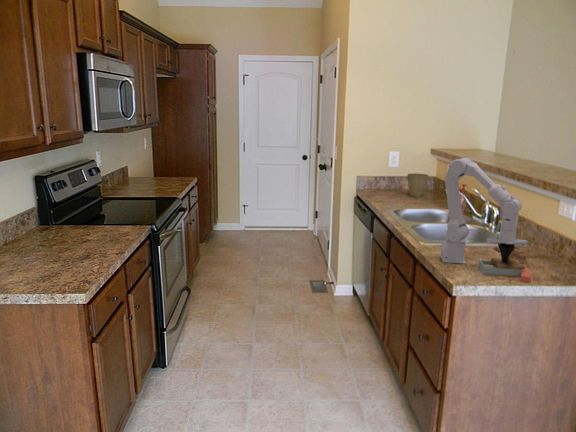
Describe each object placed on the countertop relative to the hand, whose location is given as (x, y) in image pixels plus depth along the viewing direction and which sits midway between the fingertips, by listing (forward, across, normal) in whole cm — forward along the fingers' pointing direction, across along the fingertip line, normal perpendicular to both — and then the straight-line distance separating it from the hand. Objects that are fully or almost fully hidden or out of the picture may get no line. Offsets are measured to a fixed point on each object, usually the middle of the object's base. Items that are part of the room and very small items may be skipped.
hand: (504, 261), depth 183 cm
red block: (+5, +7, -5) cm, 10 cm away
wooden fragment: (+5, +12, +23) cm, 27 cm away
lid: (+1, +2, 0) cm, 2 cm away
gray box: (+4, -1, 0) cm, 5 cm away
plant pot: (+5, -13, +155) cm, 156 cm away
